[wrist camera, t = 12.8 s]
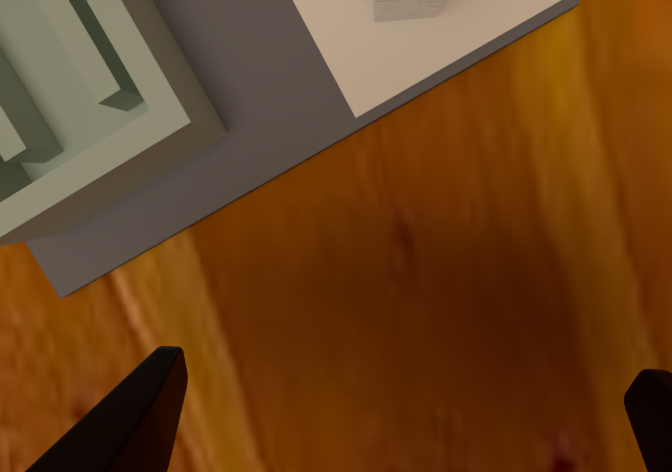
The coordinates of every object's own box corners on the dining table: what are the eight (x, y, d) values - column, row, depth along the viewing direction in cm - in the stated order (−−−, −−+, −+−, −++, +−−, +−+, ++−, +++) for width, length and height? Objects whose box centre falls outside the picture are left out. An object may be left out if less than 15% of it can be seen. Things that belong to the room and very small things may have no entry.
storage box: (228, 133, 18) (190, 122, 14) (57, 235, 19) (-21, 250, 16) (88, -114, 17) (7, -199, 13) (-83, 8, 18) (-205, -38, 15)
